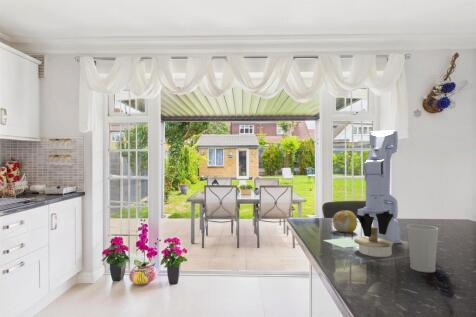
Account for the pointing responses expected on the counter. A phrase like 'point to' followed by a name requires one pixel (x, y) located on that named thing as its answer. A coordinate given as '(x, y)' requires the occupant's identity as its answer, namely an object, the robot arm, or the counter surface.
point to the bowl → (375, 251)
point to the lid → (373, 240)
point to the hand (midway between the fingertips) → (375, 235)
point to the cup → (422, 247)
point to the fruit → (345, 221)
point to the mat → (343, 242)
